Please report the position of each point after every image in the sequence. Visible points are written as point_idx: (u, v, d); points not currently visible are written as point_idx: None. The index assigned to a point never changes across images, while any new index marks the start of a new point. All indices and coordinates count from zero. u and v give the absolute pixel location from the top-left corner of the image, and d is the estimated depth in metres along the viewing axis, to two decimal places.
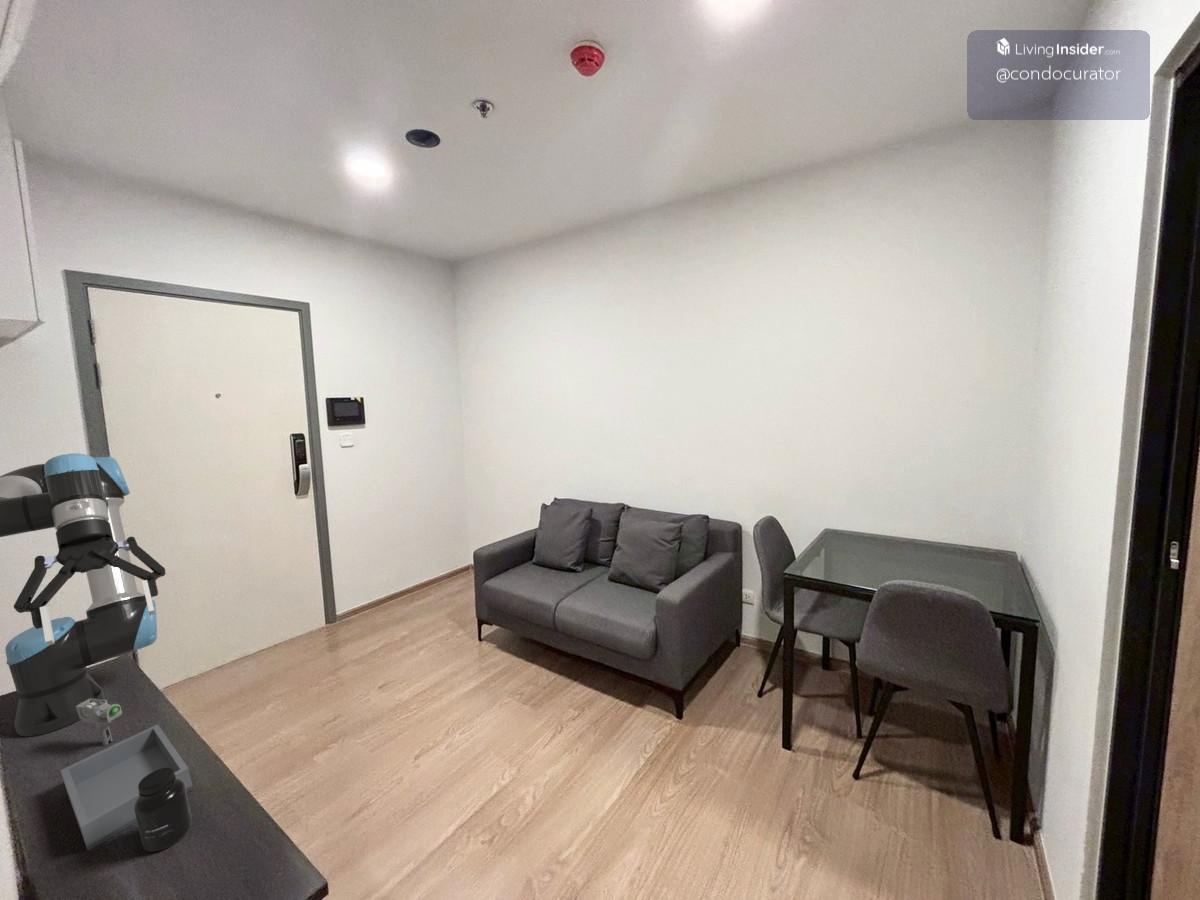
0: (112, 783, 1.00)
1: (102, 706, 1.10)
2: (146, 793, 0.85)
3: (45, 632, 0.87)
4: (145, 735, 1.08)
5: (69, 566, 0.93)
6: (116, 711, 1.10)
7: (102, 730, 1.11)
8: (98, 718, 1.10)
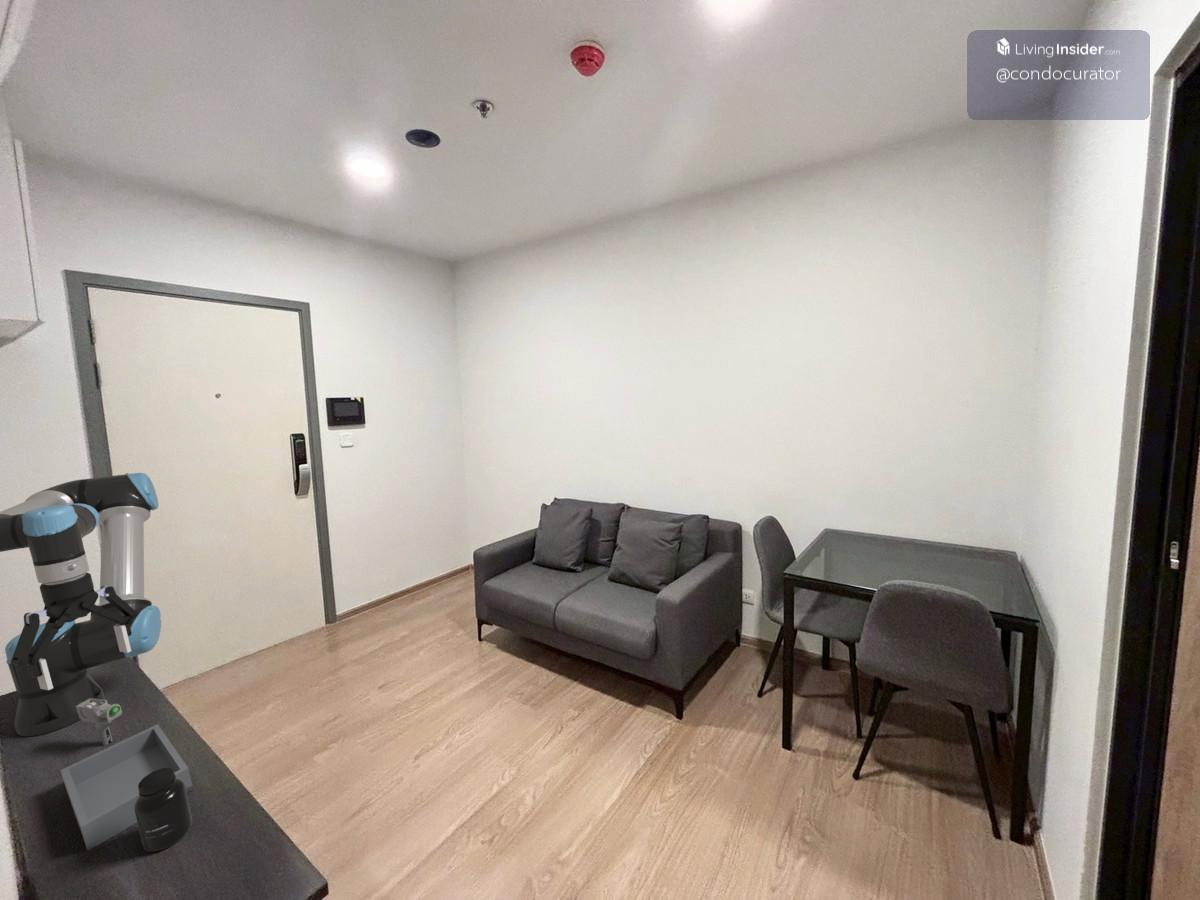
0: (112, 783, 1.00)
1: (102, 706, 1.10)
2: (146, 793, 0.85)
3: (47, 682, 1.01)
4: (145, 735, 1.08)
5: (63, 621, 1.03)
6: (116, 711, 1.10)
7: (102, 730, 1.11)
8: (98, 718, 1.10)
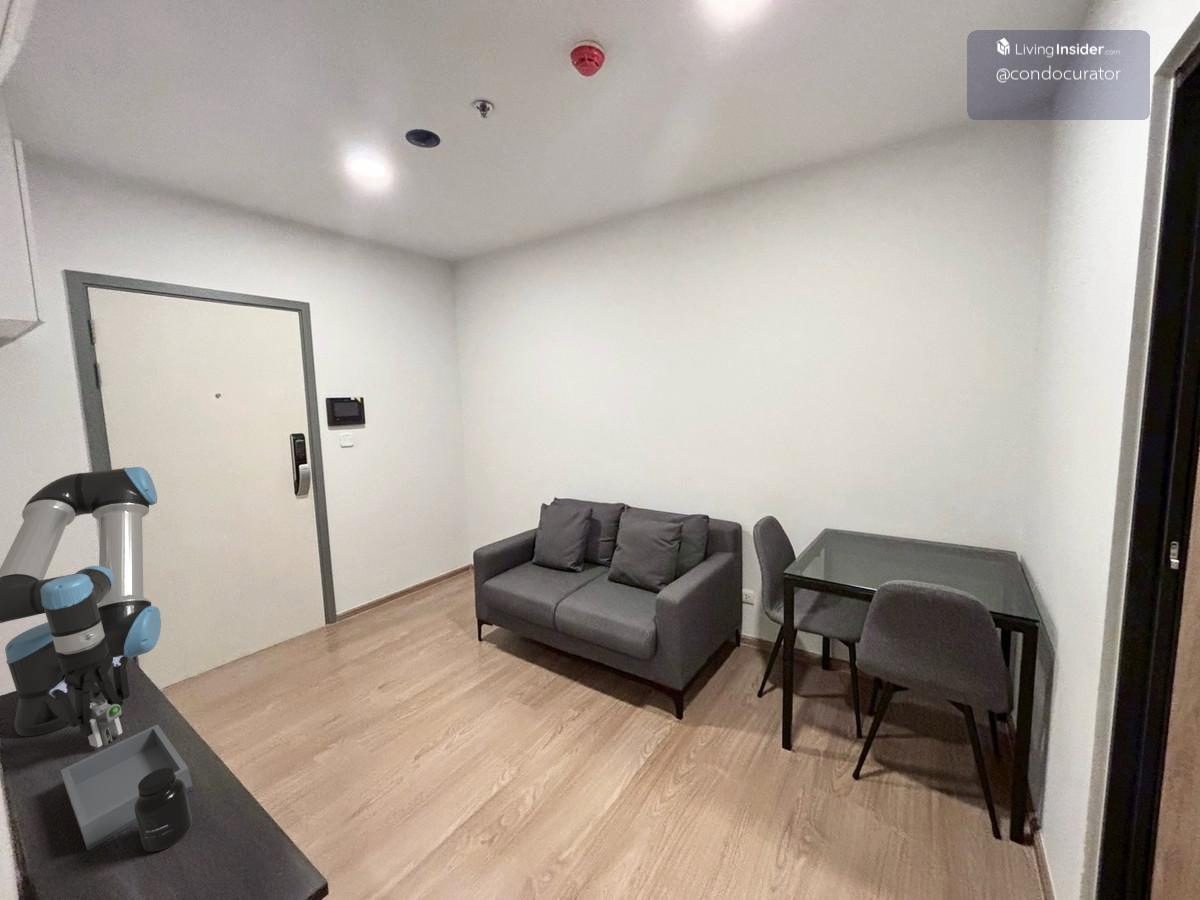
0: (112, 783, 1.00)
1: (102, 706, 1.10)
2: (146, 793, 0.85)
3: (97, 740, 1.10)
4: (145, 735, 1.08)
5: (88, 686, 1.08)
6: (116, 711, 1.10)
7: (102, 730, 1.11)
8: (98, 718, 1.10)
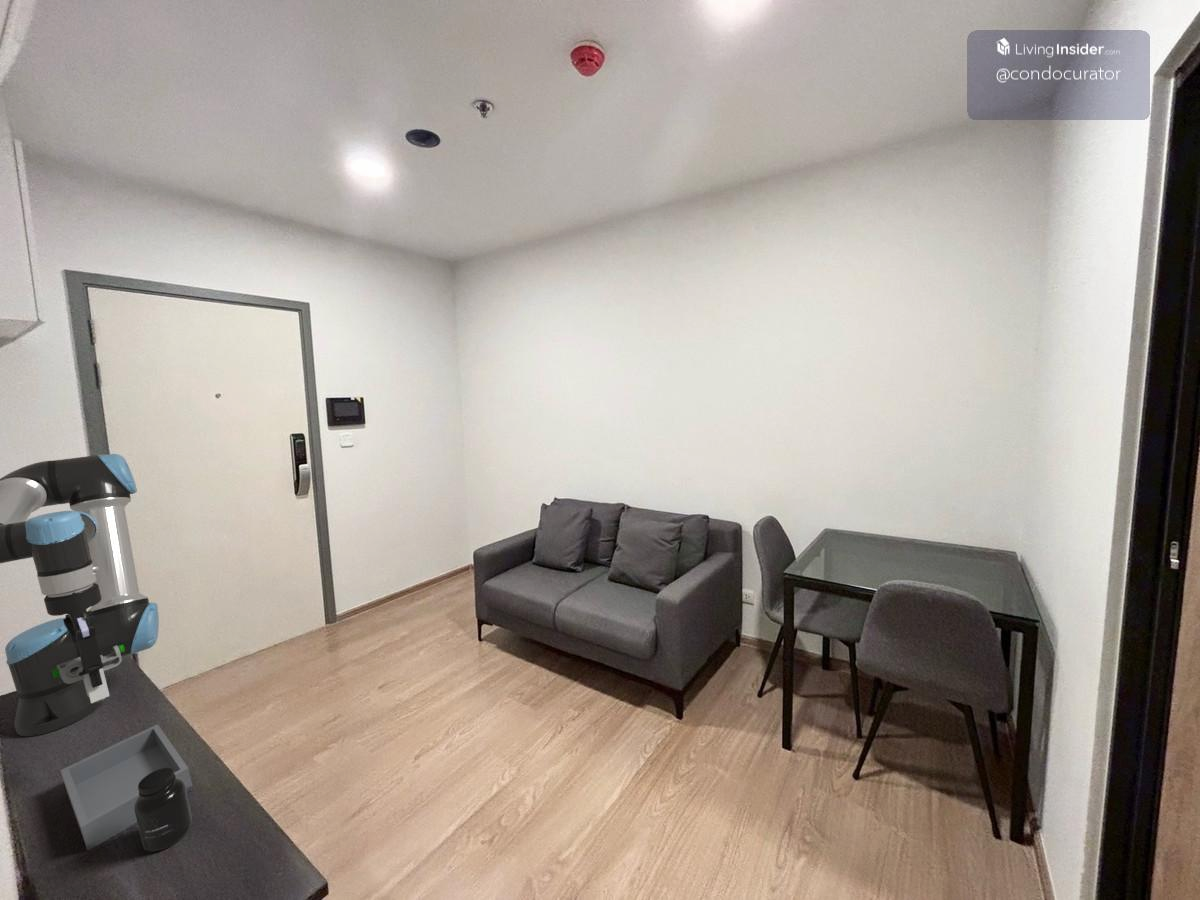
0: (112, 783, 1.00)
1: None
2: (146, 793, 0.85)
3: (107, 688, 1.01)
4: (145, 735, 1.08)
5: (94, 628, 1.00)
6: None
7: None
8: None
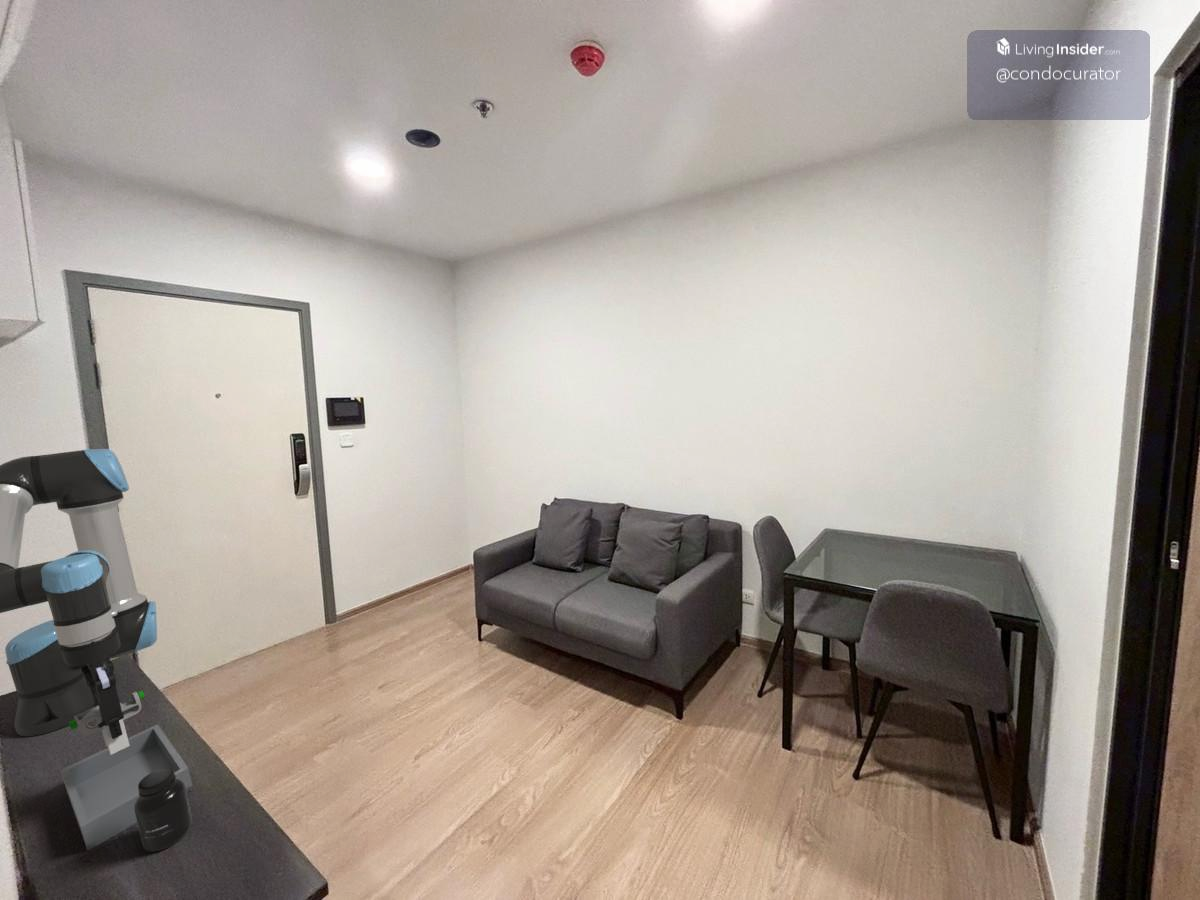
0: (112, 783, 1.00)
1: None
2: (146, 793, 0.85)
3: (127, 737, 0.97)
4: (145, 735, 1.08)
5: None
6: None
7: None
8: None
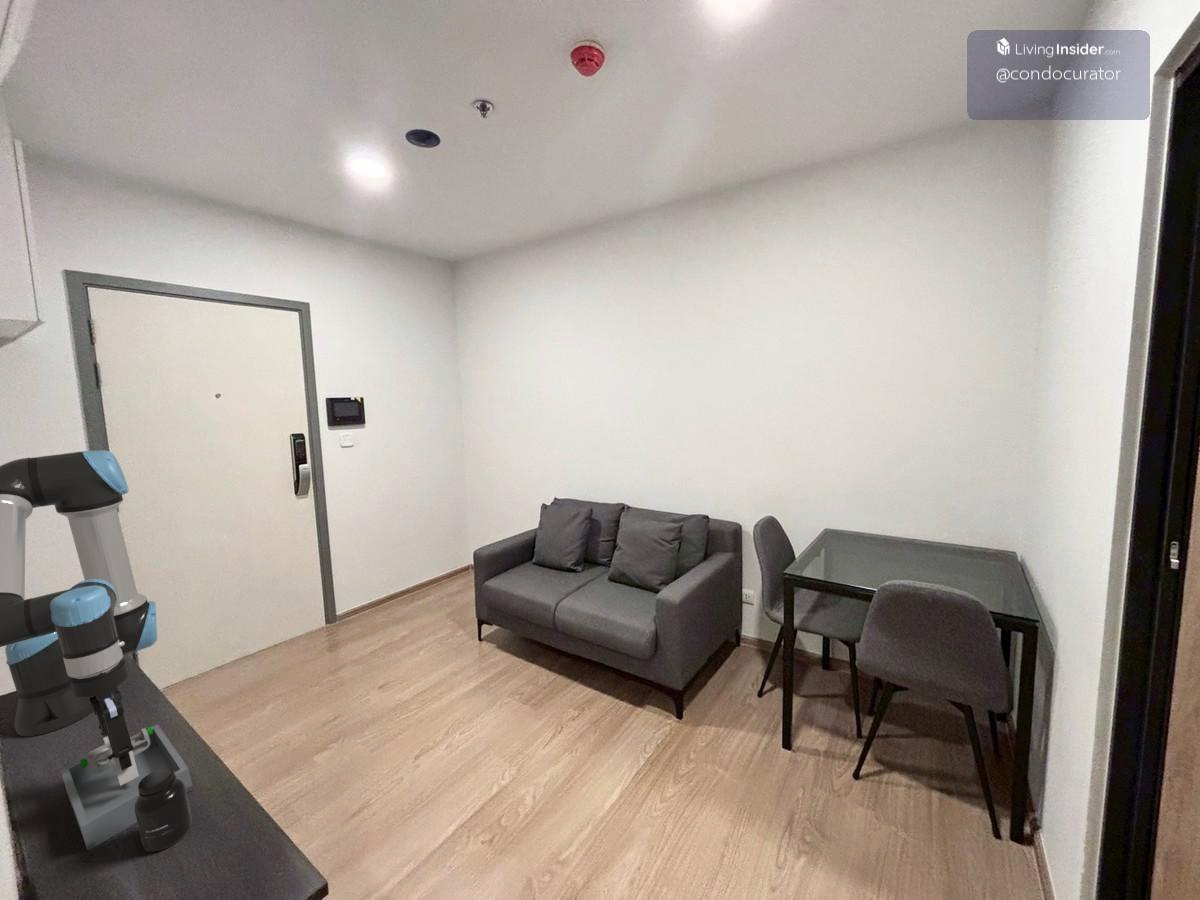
0: (112, 783, 1.00)
1: None
2: (146, 793, 0.85)
3: (136, 768, 0.97)
4: None
5: (122, 706, 0.96)
6: None
7: None
8: None
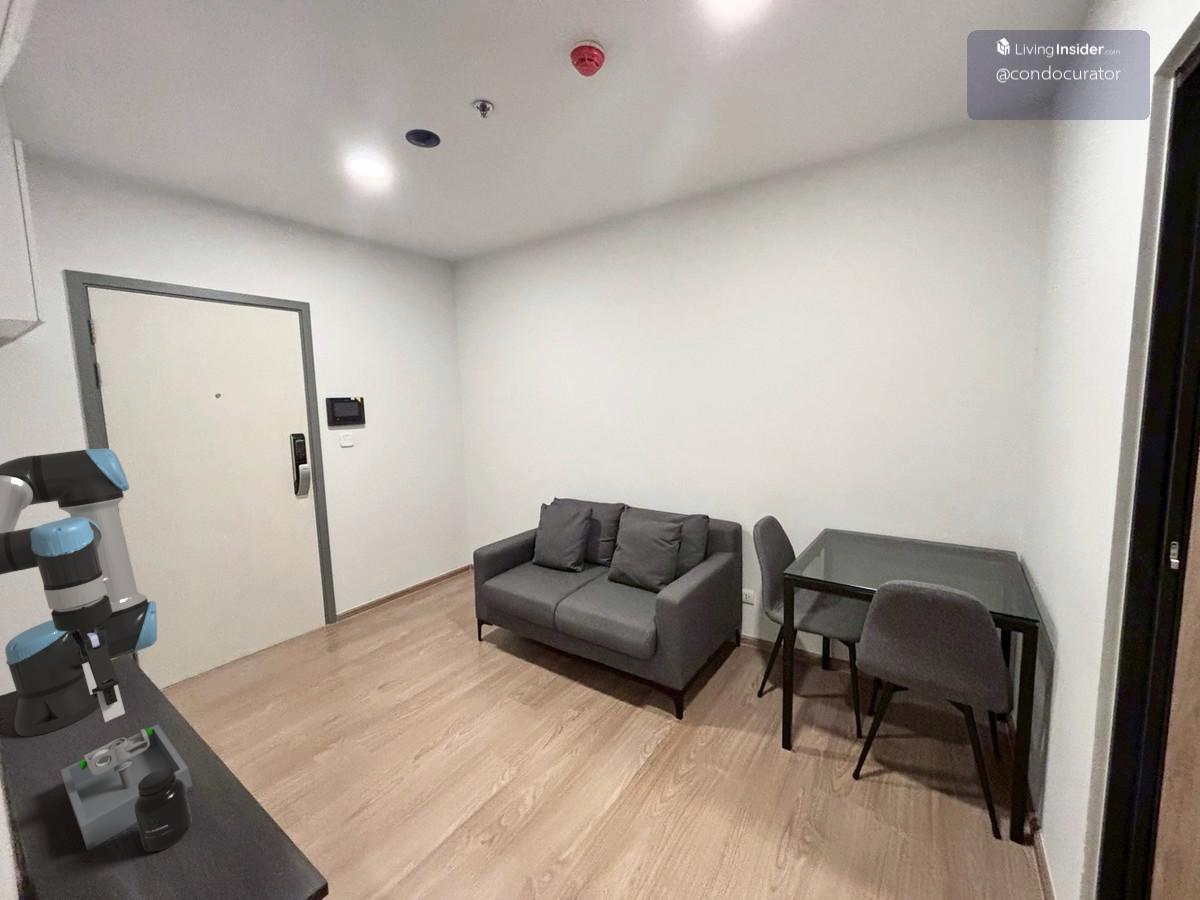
0: (112, 783, 1.00)
1: None
2: (146, 793, 0.85)
3: (122, 705, 0.92)
4: None
5: None
6: None
7: (128, 769, 0.98)
8: (128, 753, 0.98)
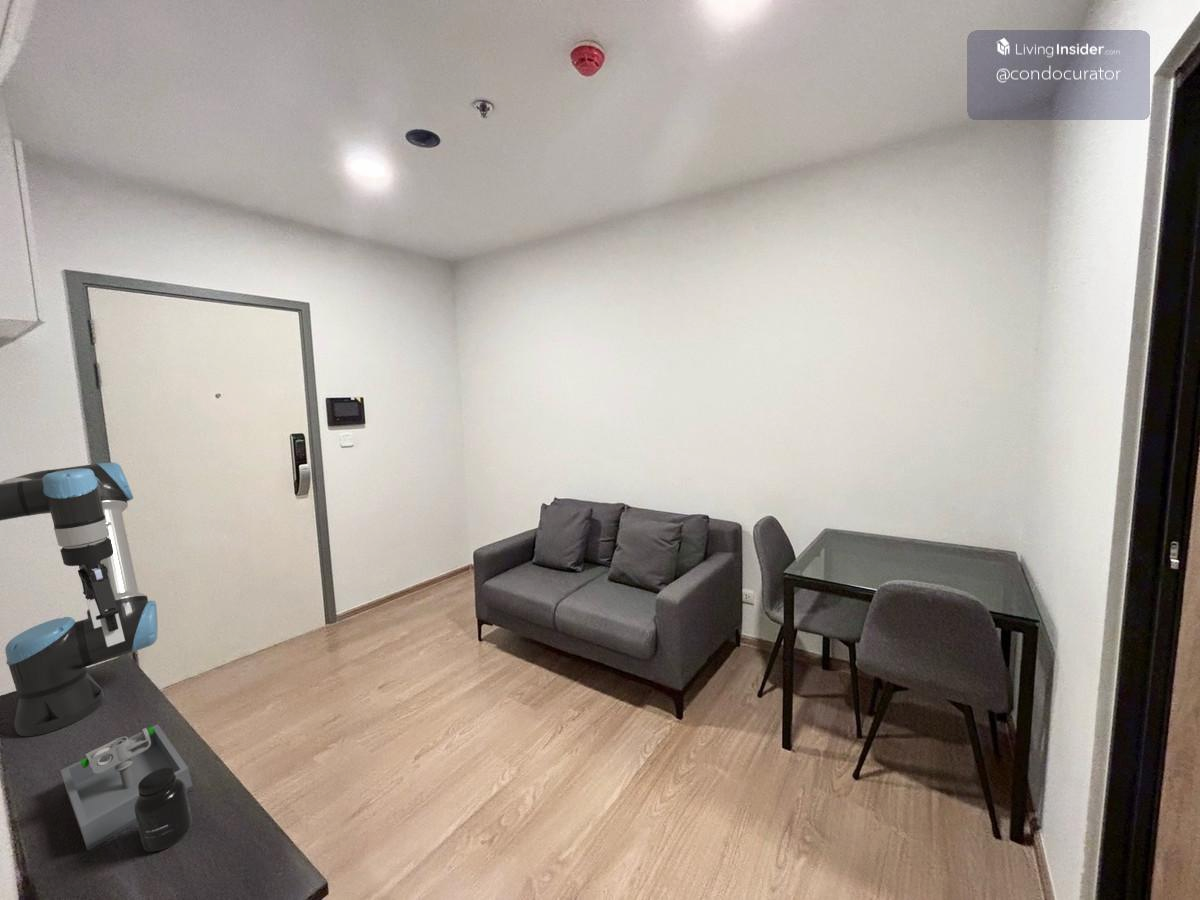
0: (112, 783, 1.00)
1: (127, 739, 0.98)
2: (146, 793, 0.85)
3: (123, 633, 1.04)
4: None
5: None
6: None
7: (128, 768, 0.98)
8: (129, 752, 0.98)
